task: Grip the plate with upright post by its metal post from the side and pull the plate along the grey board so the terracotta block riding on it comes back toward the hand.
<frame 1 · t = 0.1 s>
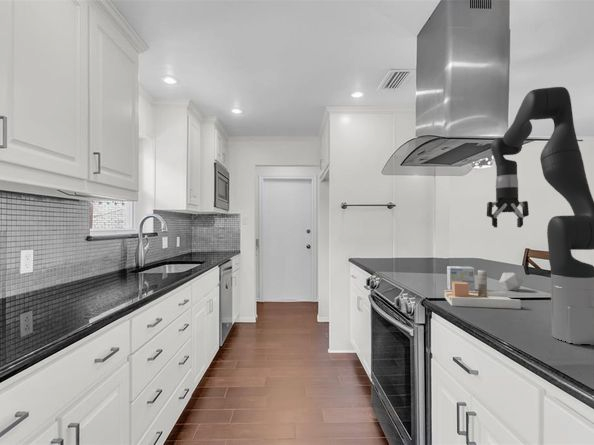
hand: (507, 227, 131), 29 cm above the worktop, tool pointing down, fingers open, 8 cm apart
block: (460, 295, 130), point 3 cm above the worktop, touching plate with upright post
die: (510, 290, 150), on the worktop
light bulb box: (460, 290, 151), on the worktop
plate with upright post: (466, 284, 129), point 7 cm above the worktop, slide at 0.0 cm, touching block
board: (479, 302, 128), on the worktop
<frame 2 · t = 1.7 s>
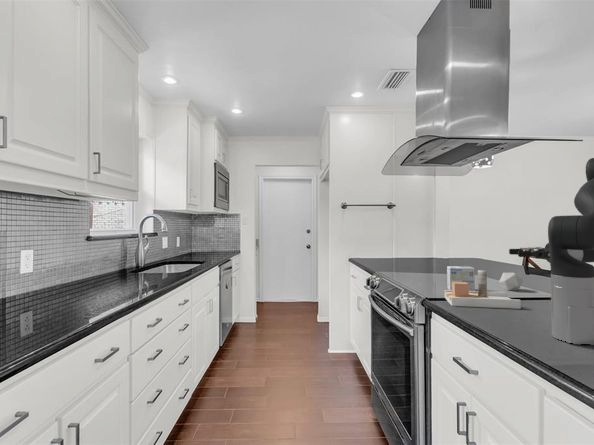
hand: (513, 252, 125), 20 cm above the worktop, tool horizontal, fingers open, 8 cm apart
nothing on the worktop moved.
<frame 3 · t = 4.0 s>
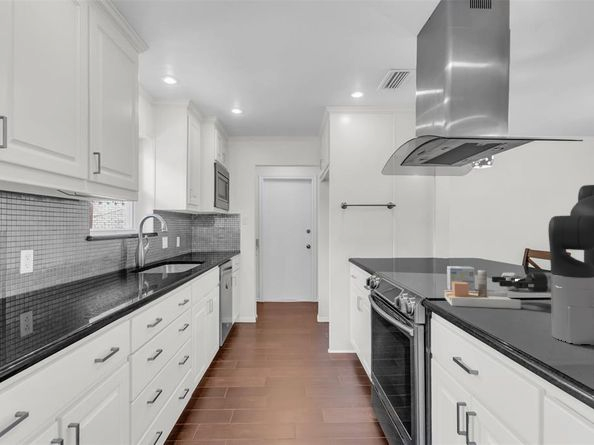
hand: (495, 281, 126), 9 cm above the worktop, tool horizontal, fingers open, 8 cm apart
nothing on the worktop moved.
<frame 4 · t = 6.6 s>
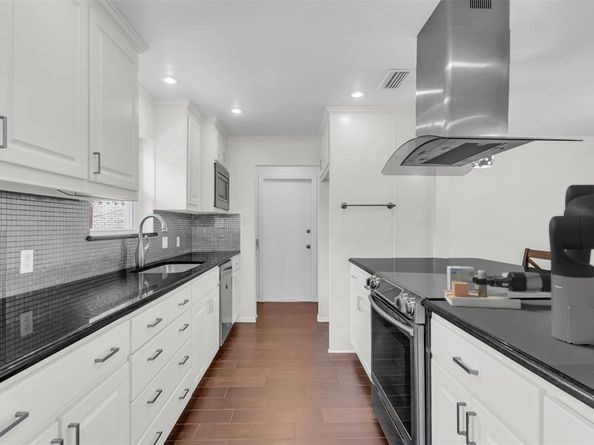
hand: (474, 280, 128), 8 cm above the worktop, tool horizontal, fingers closed on plate with upright post, 3 cm apart
plate with upright post: (466, 284, 129), point 7 cm above the worktop, slide at 0.0 cm, touching block, gripper
everything else where it was.
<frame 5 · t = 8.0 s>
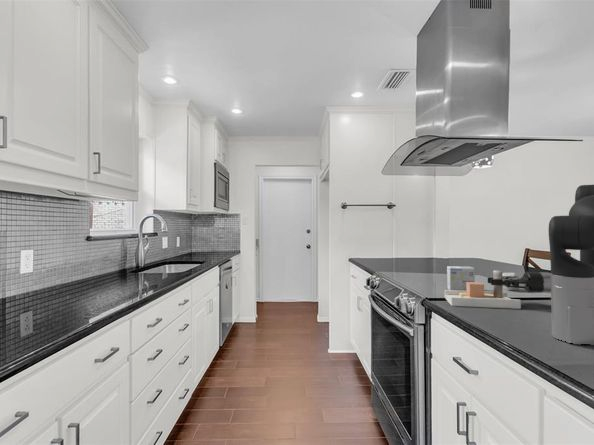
hand: (489, 281, 127), 8 cm above the worktop, tool horizontal, fingers closed on plate with upright post, 3 cm apart
block: (475, 295, 128), point 3 cm above the worktop, touching plate with upright post
plate with upright post: (482, 284, 128), point 7 cm above the worktop, slide at 5.4 cm, touching block, gripper
everything else where it was.
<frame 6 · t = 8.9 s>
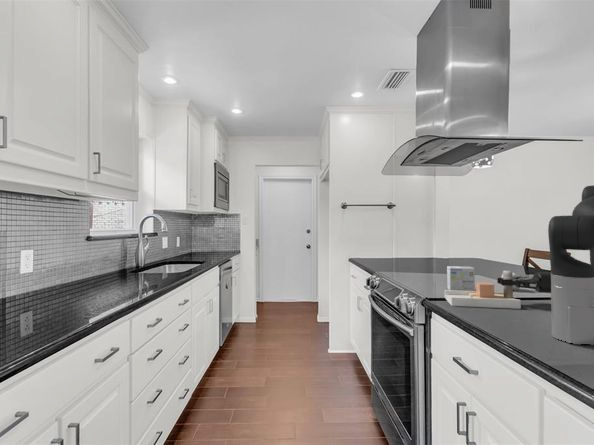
hand: (499, 281, 126), 8 cm above the worktop, tool horizontal, fingers closed on plate with upright post, 3 cm apart
block: (485, 296, 127), point 3 cm above the worktop, touching plate with upright post
plate with upright post: (492, 284, 127), point 7 cm above the worktop, slide at 8.9 cm, touching block, gripper
everything else where it was.
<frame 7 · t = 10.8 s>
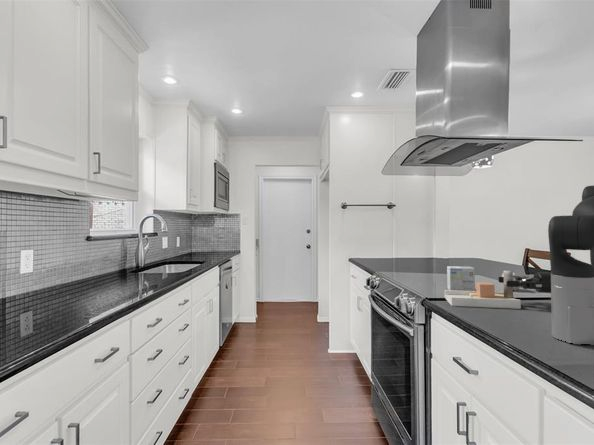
hand: (502, 281, 126), 8 cm above the worktop, tool horizontal, fingers open, 8 cm apart
plate with upright post: (492, 284, 127), point 7 cm above the worktop, slide at 9.0 cm, touching block
everything else where it was.
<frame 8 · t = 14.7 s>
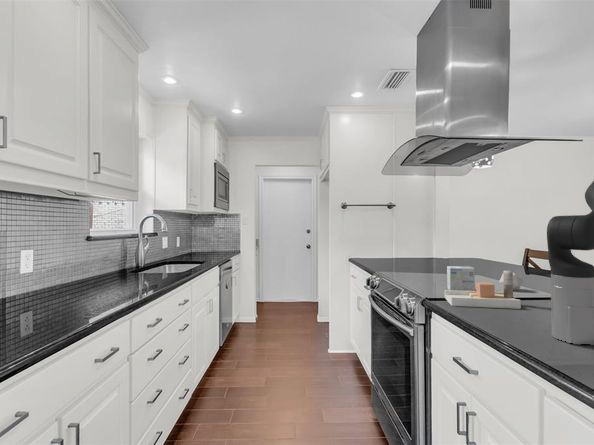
hand: (553, 236, 116), 26 cm above the worktop, tool horizontal, fingers open, 8 cm apart
nothing on the worktop moved.
at the end: plate with upright post slide at 9.0 cm; block inside the target area (0.5 cm from its centre), point 2.6 cm above the worktop; block tilted 0° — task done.
